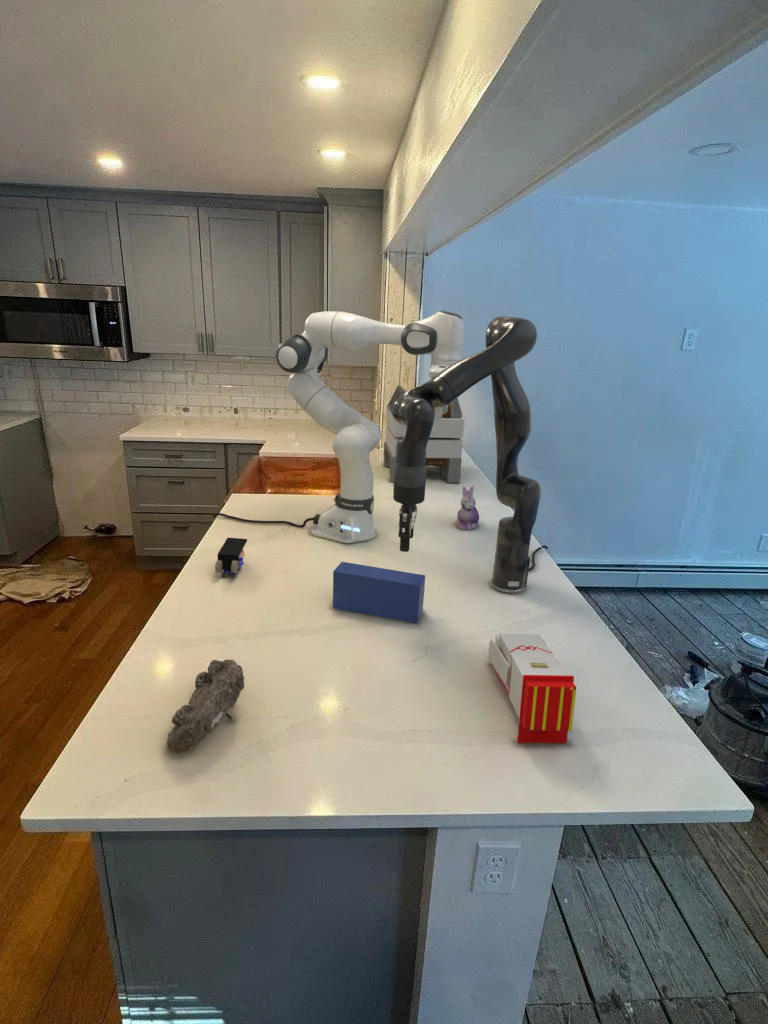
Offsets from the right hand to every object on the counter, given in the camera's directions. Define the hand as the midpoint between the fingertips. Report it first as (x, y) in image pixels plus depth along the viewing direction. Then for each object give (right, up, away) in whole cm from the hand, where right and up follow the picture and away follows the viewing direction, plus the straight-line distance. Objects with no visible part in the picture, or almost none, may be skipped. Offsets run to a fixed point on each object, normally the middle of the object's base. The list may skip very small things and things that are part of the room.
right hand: (406, 544), depth 140 cm
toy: (+23, -31, -22) cm, 44 cm away
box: (-7, -18, +9) cm, 21 cm away
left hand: (+12, +37, +33) cm, 51 cm away
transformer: (+12, +27, +135) cm, 138 cm away
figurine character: (-50, -9, +28) cm, 58 cm away
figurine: (+25, +3, +70) cm, 75 cm away
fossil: (-38, -31, -32) cm, 59 cm away
